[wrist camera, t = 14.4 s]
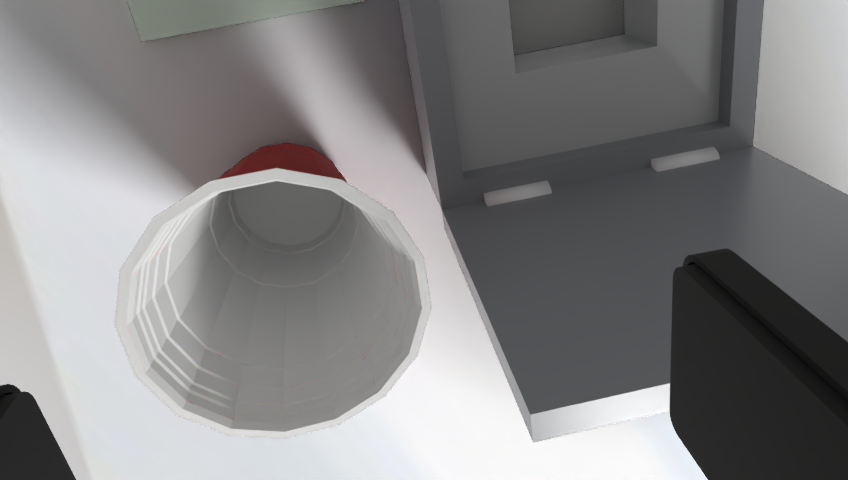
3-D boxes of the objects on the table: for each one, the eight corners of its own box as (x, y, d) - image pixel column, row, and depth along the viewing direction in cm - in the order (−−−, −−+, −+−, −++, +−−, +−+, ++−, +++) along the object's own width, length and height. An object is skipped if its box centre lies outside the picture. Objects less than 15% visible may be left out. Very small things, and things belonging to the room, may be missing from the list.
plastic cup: (426, 245, 36) (471, 384, 25) (241, 314, 36) (208, 480, 25) (352, 54, 31) (371, 124, 20) (138, 135, 31) (44, 247, 20)
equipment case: (715, -206, 28) (1274, -387, 12) (701, 138, 35) (1038, 327, 19) (374, -148, 27) (459, -256, 11) (429, 193, 34) (533, 442, 18)
